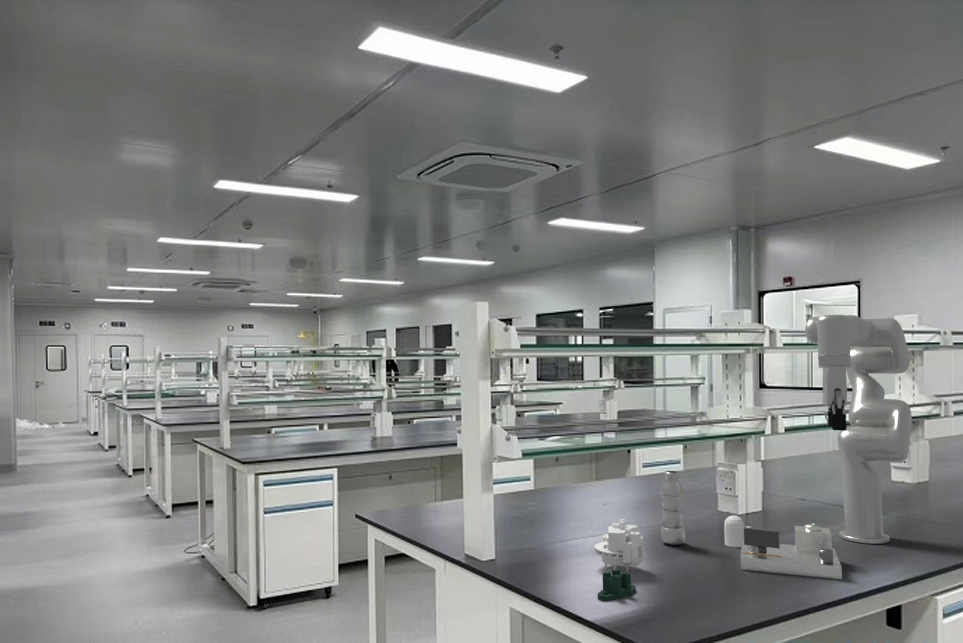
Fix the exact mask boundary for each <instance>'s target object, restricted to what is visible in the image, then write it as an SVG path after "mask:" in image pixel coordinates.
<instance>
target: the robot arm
mask: <svg viewBox="0 0 963 643" xmlns="http://www.w3.org/2000/svg"><path fill="white" fill-rule="evenodd" d="M804 327H805V329H804V330H805V332H804V333H805V336H806V339H807V340H808V341H809V343H811V344H813V345H817V359H818V368H819V369H822V404H823V405H824V406H826V407H827V409H828V411H827V425H828V427H831V430H833V431H839V432H838V434H837V445H838V450H839V454H840V460H841V470H842V487H843V488H842V489H843V511H844V529H841V530H840V531H839V532H838V536H839V537H840V538H842V540H843V539H844V540H847V541H851V542H856V543H860V544H861V543H862V544H869V545H870V544H873V545H876V544H877V545H879V544H882V545H883V544H886V543H889V542H891V538H890V535H888V534H887V533H884V521H883V520H884V519H883V502H882V501H883V497H882V496H883V495H882V479H881V476H880V473H879V471H878V469H876V468H875V466H874V465H873V464H872V463H871V462H878V463H879V462H880V463H891V464H892V463H895V464H898V463H899V464H900V463H903V462H905V461H906V460H907V458H908V456H909V452H910V443H911V435H912V434H911V433H912V432H911V431H912V422H913V420H912V419H913V416H912V410H911V408H910V405H909V404H908V403H907V402H906V401H904V400H902V399H896V398H895V399H893V398H892V399H891V398H885V394H886V392H885V389H884V387H883V386H882V385H881V384H880V382H878V381H877V380H876V379H875V378H874V377H872V376H871V375H870V374H886V375H887V374H889V375H890V374H891V375H892V374H894V375H895V374H899V375H900V374H903V373H906V372H907V371H908V370H909V369H910V366H911V365H910V364H911V359H910V352H909V348H908V345H907V341H906V337H905V333H904V330H903V328H902V326H901V323H899V321H898V320H896V319H894V318H892V317H890V318H889V317H888V318H885V317H884V318H861V317H859V316H857V315H856V314H855V315H854V314H853V315H852V314H846V315H845V314H825V315H820V316H812V317H810V318H809V319H808V320H807V321H806V323H805V326H804ZM851 347H852V348H851ZM847 378H848V379H847ZM847 380H849V382H850V385H851V389H852V394H851V397H850V398H851V399H850V403H849V409H848V422H849V424H850V426H847V414H846V409H845V407H846V406H847V404H848V382H847Z"/></svg>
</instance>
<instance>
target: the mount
mask: <svg viewBox="0 0 963 643" xmlns="http://www.w3.org/2000/svg"><path fill="white" fill-rule="evenodd" d="M636 592H637V586H636V585H634V584H632V577H631V574H630V572H629V571H625V572H621V570H620V569H618V568H616V570H614V569H613V570H612V571H611V572H610V571H605V572H603V573H602V590H600V591H599V592H598V593H597V600H598V601H601V602H608V601H617V600H621V599H625V598H628V597H632V596H633V595H634V594H635V593H636Z"/></svg>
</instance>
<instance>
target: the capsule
mask: <svg viewBox="0 0 963 643" xmlns="http://www.w3.org/2000/svg"><path fill="white" fill-rule="evenodd" d="M745 526H746V525H745V523H744V521H743V519H742V518H741V517H740V516H738V515H729V516H728V517H726V519H725V520H724V525H723V528H724V545H725V546H727V547H730V548H741V545H742V541H744V527H745Z"/></svg>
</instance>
